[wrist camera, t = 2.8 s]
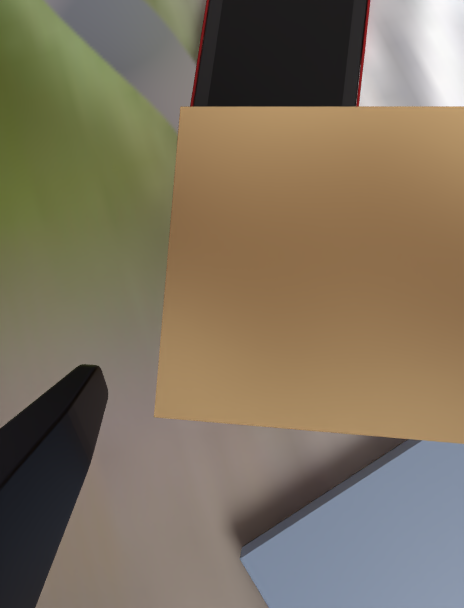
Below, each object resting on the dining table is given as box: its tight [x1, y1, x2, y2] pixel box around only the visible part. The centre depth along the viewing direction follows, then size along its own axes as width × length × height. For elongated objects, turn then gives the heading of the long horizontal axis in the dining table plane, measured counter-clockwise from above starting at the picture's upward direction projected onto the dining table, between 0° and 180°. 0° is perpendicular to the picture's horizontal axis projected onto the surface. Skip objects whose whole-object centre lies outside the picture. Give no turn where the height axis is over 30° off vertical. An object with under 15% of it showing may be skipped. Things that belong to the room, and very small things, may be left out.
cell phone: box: [190, 0, 370, 107], centre depth 20 cm, size 8×15×1 cm, turn 172°
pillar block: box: [154, 107, 464, 444], centre depth 12 cm, size 4×4×13 cm
